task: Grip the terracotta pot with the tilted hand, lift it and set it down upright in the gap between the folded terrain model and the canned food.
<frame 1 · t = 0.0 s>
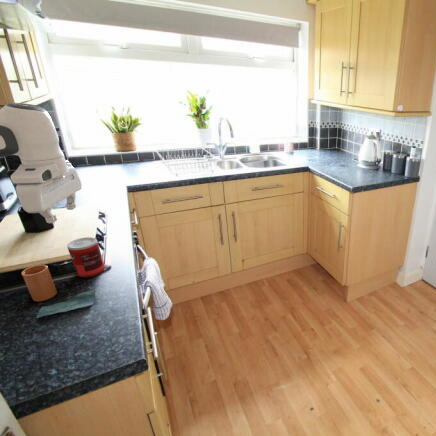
hand: (62, 215, 91), 24 cm above the worktop, tool pointing down, fingers open, 8 cm apart
terrain model: (69, 308, 90), on the worktop
canned food: (91, 271, 107), on the worktop
terracotta pot: (45, 295, 95), on the worktop
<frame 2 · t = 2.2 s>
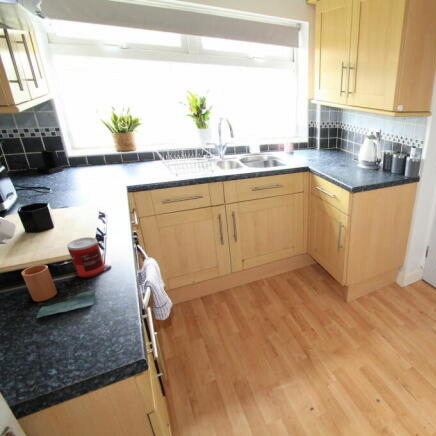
nothing on the worktop moved.
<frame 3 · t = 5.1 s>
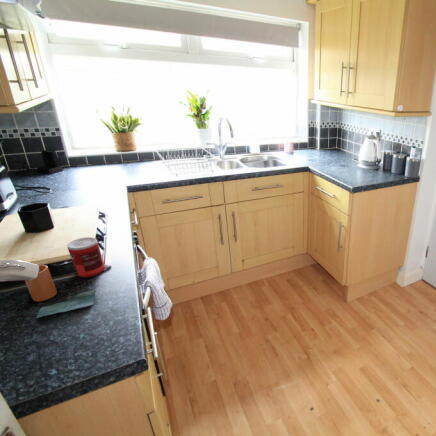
hand: (9, 278, 82), 12 cm above the worktop, tool tilted 45°, fingers open, 8 cm apart
nothing on the worktop moved.
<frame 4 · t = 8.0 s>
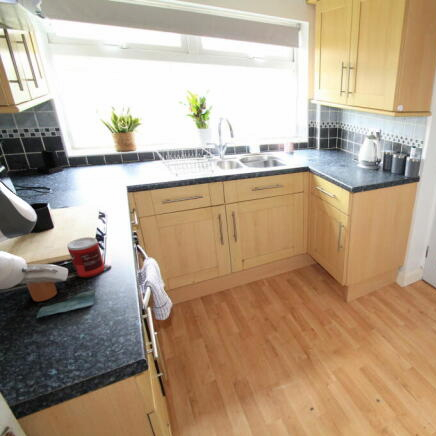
hand: (40, 280, 93), 5 cm above the worktop, tool tilted 45°, fingers closed on terracotta pot, 5 cm apart
terracotta pot: (45, 295, 95), on the worktop, touching gripper
everything else where it was.
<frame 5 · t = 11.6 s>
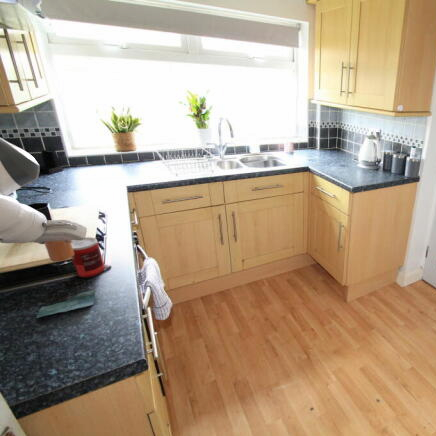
hand: (58, 240, 92), 16 cm above the worktop, tool tilted 45°, fingers closed on terracotta pot, 5 cm apart
terracotta pot: (62, 256, 94), point 11 cm above the worktop, touching gripper
everything else where it was.
when the fingers open (5 cm above the worktop, at t = 15.3 s): terracotta pot stays where it is, on the worktop.
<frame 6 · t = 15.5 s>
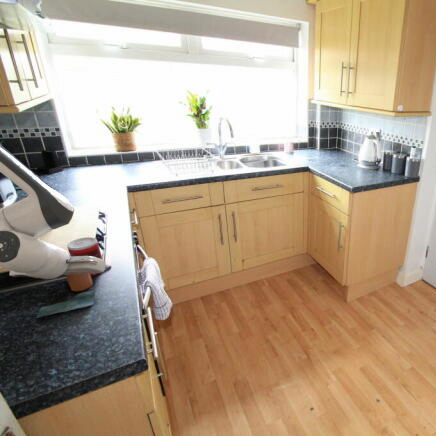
hand: (78, 272, 98), 5 cm above the worktop, tool tilted 45°, fingers open, 7 cm apart
terracotta pot: (82, 285, 99), on the worktop
everything else where it was.
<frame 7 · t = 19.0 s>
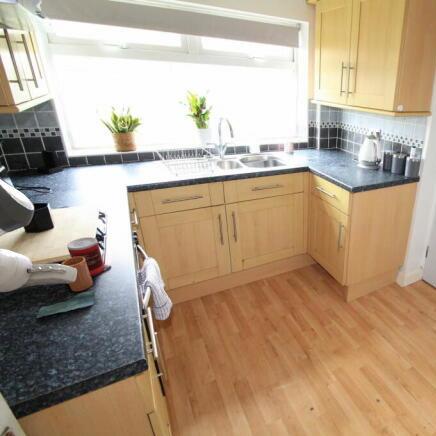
hand: (46, 281, 84), 10 cm above the worktop, tool tilted 45°, fingers open, 8 cm apart
nothing on the worktop moved.
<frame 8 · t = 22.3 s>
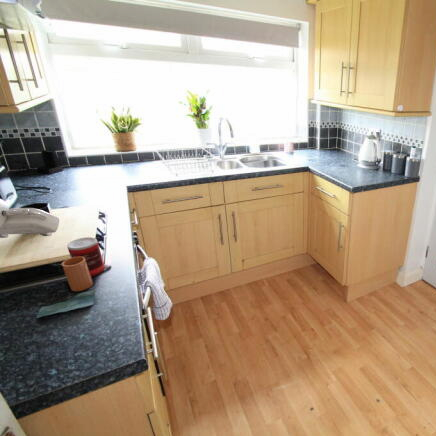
hand: (27, 233, 78), 24 cm above the worktop, tool tilted 45°, fingers open, 8 cm apart
nothing on the worktop moved.
at the end: terracotta pot 0.1 cm from the target spot, on the worktop; terracotta pot tilted 0°; the gripper is holding nothing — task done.
